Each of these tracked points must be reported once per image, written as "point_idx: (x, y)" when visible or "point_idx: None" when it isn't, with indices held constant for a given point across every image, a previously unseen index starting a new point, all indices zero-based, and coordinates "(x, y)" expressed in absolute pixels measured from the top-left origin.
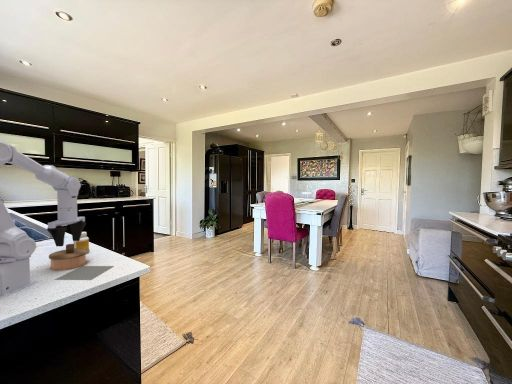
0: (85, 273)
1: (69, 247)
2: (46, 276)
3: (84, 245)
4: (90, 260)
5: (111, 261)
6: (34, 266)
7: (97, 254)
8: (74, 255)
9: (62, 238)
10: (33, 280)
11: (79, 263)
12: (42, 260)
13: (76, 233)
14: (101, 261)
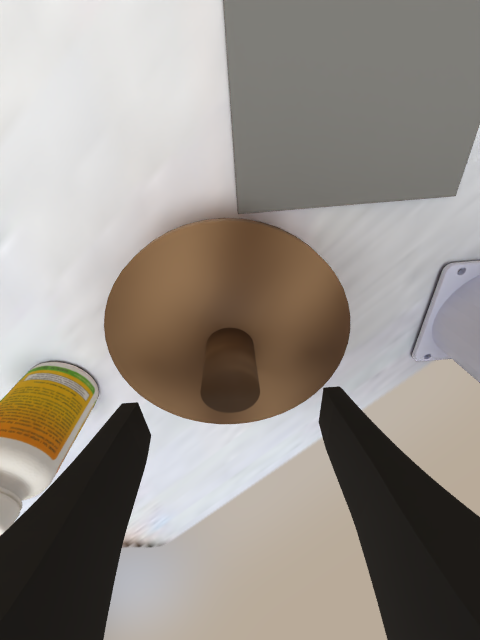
0: (392, 39)
1: (254, 365)
2: (367, 293)
3: (31, 407)
4: (123, 263)
5: (77, 54)
6: (249, 422)
7: (21, 308)
8: (303, 254)
9: (398, 453)
10: (440, 290)
11: None
12: (187, 446)
13: (108, 501)
14: (111, 163)
